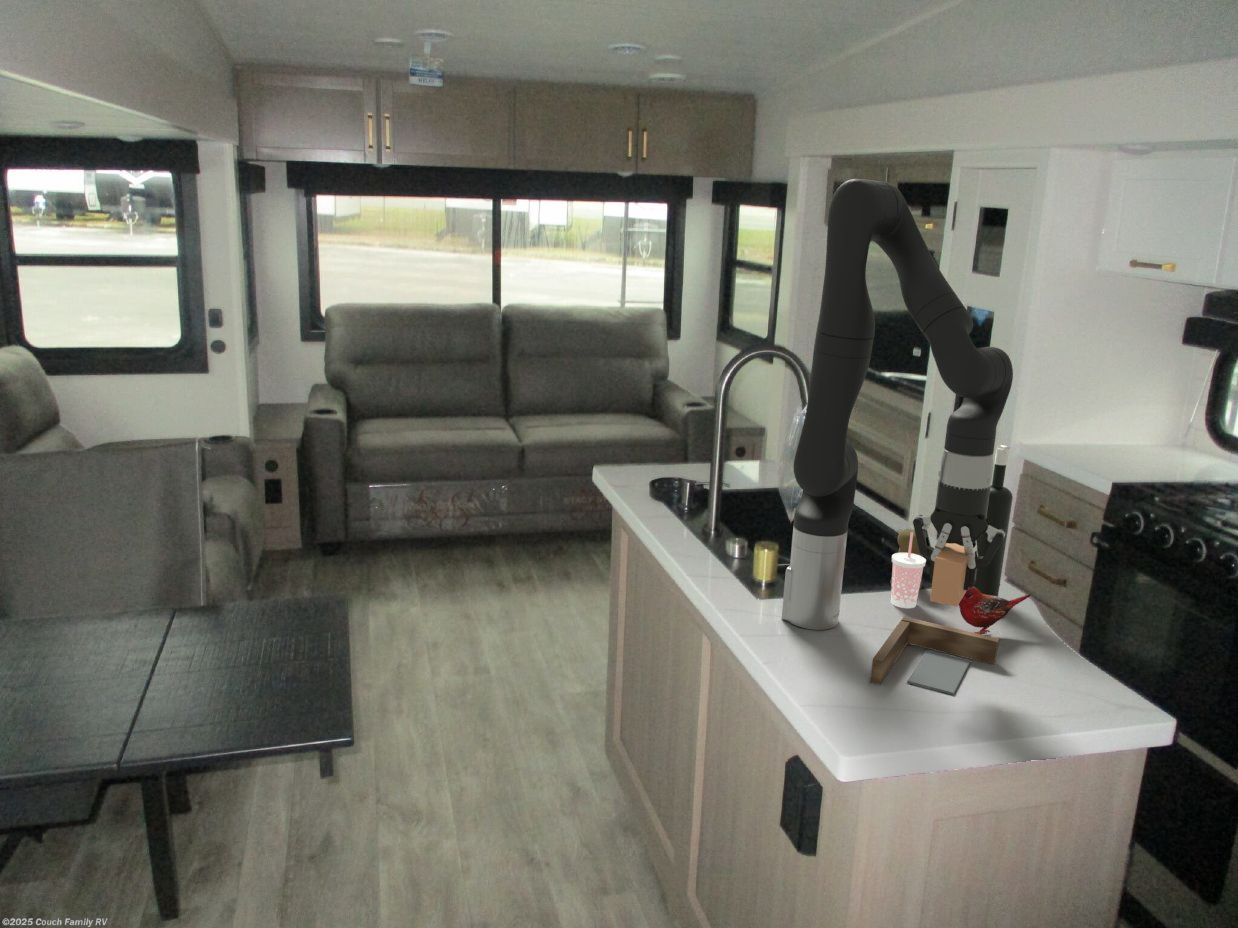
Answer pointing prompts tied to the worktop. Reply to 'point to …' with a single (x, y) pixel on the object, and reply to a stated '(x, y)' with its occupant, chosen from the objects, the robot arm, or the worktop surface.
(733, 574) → the worktop surface
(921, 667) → the slate pad
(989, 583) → the wine bottle
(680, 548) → the worktop surface
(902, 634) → the walnut corner
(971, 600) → the decorative bird figurine
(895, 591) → the beverage cup
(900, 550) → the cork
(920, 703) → the worktop surface
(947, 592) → the terracotta block
